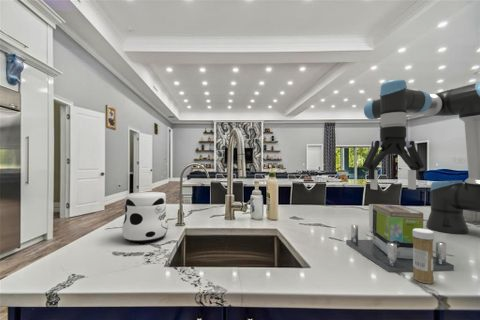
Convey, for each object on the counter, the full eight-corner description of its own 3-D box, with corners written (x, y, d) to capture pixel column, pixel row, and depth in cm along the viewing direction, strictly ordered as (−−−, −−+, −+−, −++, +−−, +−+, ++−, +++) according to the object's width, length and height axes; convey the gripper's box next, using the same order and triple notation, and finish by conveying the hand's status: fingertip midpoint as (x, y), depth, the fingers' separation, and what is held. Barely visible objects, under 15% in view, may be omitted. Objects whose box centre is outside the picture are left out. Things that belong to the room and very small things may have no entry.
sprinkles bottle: (438, 283, 63) (438, 231, 64) (424, 285, 62) (424, 232, 63) (421, 275, 68) (421, 227, 68) (408, 276, 67) (408, 228, 67)
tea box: (424, 260, 74) (424, 212, 74) (389, 258, 76) (389, 211, 76) (400, 244, 89) (401, 204, 89) (371, 242, 91) (371, 203, 91)
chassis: (395, 242, 95) (395, 223, 95) (453, 270, 71) (453, 244, 71) (346, 243, 94) (346, 224, 94) (388, 272, 70) (388, 246, 70)
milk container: (176, 238, 99) (176, 194, 100) (133, 249, 87) (134, 198, 87) (155, 229, 111) (155, 190, 111) (115, 238, 99) (115, 194, 99)
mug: (374, 234, 107) (374, 206, 107) (365, 229, 113) (365, 204, 113) (396, 233, 107) (396, 206, 107) (386, 229, 114) (386, 204, 114)
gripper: (418, 128, 87) (418, 187, 87) (351, 127, 86) (351, 188, 85) (437, 125, 80) (437, 190, 80) (364, 124, 78) (364, 190, 78)
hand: (393, 189), depth 83 cm, fingers open, 13 cm apart
